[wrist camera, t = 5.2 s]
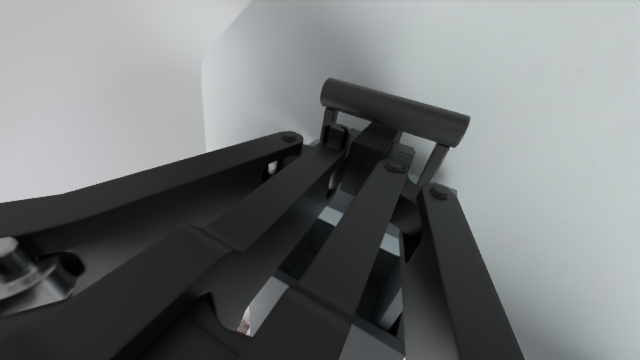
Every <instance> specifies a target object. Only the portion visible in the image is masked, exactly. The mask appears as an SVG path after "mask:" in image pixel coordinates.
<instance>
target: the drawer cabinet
mask: <svg viewBox="0 0 640 360" xmlns="http://www.w3.org/2000/svg"><path fill="white" fill-rule="evenodd" d="M298 282H299V280H297V279H295V278H293V277H292V276H290V275H288V274H287V273H285V272H283V271H281V270H280V269H277V270H276V271H275V272H274V274H273V275H272V276H271V277H270V279H269V280H268V281H267V283H266V284H265V285H264V286H263V288H262V289H261V290H260V291H259V293H258V294H257V295H256V297H255V298H254V299H253V300H252V302H251V303H250V304H249V314H250V336H251V337H253V336H254V334H255V333H256V331H257V330H258V329H259V327H260V326H261V324H262V323H263V321H264V320H265V318H266V317H267V316H268V314H269V313H270V311H271V310H272V308H273V307H274V306H275V304H276V303H277V301H278V300H279V298H280V297H281V296H282V294H283V293H284V292H285V290H286V289H287V288H288V287H289V286H290V285H296V284H297V283H298ZM404 358H405V338H404V321H403V311H402V312H401V313H400V315H399V316H398V317H397V319H396V320H395V322H394V323H393V324H392V326H391V327H390V329H389V330H388V331H387V332H386V331H384V330H382V329H380V328H379V327H377V326H375V325H374V324H372V323H370V322H368V321H367V320H365V319H363V318H362V317H360V316H358V315H357V314H354V317H353V322H352V325H351V328H350V331H349V334H348V336H347V339H346V342H345V344H344V347H343V350H342V352H341V355H340V358H339V360H403V359H404Z"/></svg>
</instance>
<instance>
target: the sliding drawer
mask: <svg viewBox="0 0 640 360" xmlns="http://www.w3.org/2000/svg"><path fill="white" fill-rule="evenodd" d="M320 101H321V105H322V106H324V107H327V108H325V113H324V119H323V124H322V130H321V136H320V140H319V139H316V140H315V141H313V142H312V143H310V144H309V146H315V145H316V144H318V143H319V142H320V141H321V138H322V132H323V126H324V124H327V123H335V124H336V119H337V114H338V111H340V112H343V113H346V114H349V115H352V116H355V117H359V118H362V119H365V120H368V121H371V122H374V123H377V124H380V125H384V126H387V127H390V128H393V129H396V130H399V131H402V132H406V133H409V134H412V135H415V136H418V137H421V138H424V139H428V140H431V141H434V142H437V143H436V145H435V147H434V149H433V151H432V153H431V155H430V157H429V159H428V161H427V163H426V165H425V167H424V169H423V171H422V173H421V176H420V177H419V176H416V175H414V174H411V173H408V177H409V178H410V180H411V181H413V182H414V183H415V184H417V185H418V186H420V187H422V185H424V184H425V183H435V182H433V179H434V177H435V175H436V173H437V171H438V169H439V168H440V166H441V164H442V162H443V160H444V158H445V156H446V154H447V152H448V151H449V147H453V148H455V147H456V146H457V145H458V144H459V143H460V141H461V140H462V138H463V136H464V134H465V132H466V130H467V128H468V125H469V122H470V116H468V115H464V114H460V113H457V112H453V111H449V110H446V109H442V108H439V107H435V106H431V105H428V104H424V103H420V102H417V101H413V100H410V99H406V98H402V97H399V96H395V95H391V94H388V93H384V92H380V91H377V90H373V89H370V88H366V87H362V86H359V85H355V84H351V83H348V82H344V81H341V80H337V79H333V78H328V79H327V80H326V81H325V83H324V85H323V88H322V91H321V96H320ZM273 171H274V169H273V170H271V171H270V172H273ZM435 184H438V183H435ZM439 185H441V184H439ZM340 186H341V183H340V184H339V186H338V188H337V192H336V195H335V196H334V197H333V199H332V200H331V201H330V203H329V204H328V205H327V206H326V208H325V209H324V210H323V211H322V213H321V214H320V215H319V217H318V218H317V219H316V220H315V222H314V223H313V224H312V225H311V227H310V228H309V229H308V230H307V232H306V233H305V234H304V236H303V237H302V238H301V239H300V241H299V242H298V243H297V244H296V246H295V247H294V248H293V250H292V251H291V252H290V253H289V255H288V256H287V257H286V258H285V260H284V261H283V262H282V264H281V265H280V266H279V267H278V269H280V270H281V271H283V272H285V273H287V274H288V275H290V276H292V277H293V278H295V279H297V280H300V279H301V278H302V276H303V275H304V273H305V272H306V270H307V269H308V267H309V266H310V264H311V263H312V261H313V260H314V258H315V257H316V255H317V254H318V252H319V251H320V249H321V248H322V246H323V245H324V243H325V242H326V240H327V239H328V237H329V236H330V234H331V233H332V231H333V229H334V228H335V226H336V225H337V223H338V222H339V220H340V219H341V217H342V216H343V214H344V213H345V211H346V210H347V208H348V207H349V205H350V204H351V202H352V201H353V199H354V198H355V196H352V195H350V194H348V193H345V192H343V191H341V190H340ZM443 186H444V185H443ZM445 187H446V186H445ZM447 188H448V189H449V190H451V191H452V192H453V193H454V194H455V195H456V197H457V190H454V189H452V188H449V187H447ZM399 231H400V230H399V229H398V228H397V227H395V226H394V225H393V224H391V223H390V222H389V225H388V227H387V230H386V232H385V235H384V238H383V240H382V243H381V246H380V248H379V251H378V253H377V256H376V259H375V261H374V264H373V267H372V269H371V272H370V274H369V277H368V280H367V282H366V285H365V288H364V290H363V293H362V295H361V298H360V301H359V303H358V306H357V309H356V311H355V314H357V315H358V316H360V317H362V318H363V319H365V320H367V321H368V322H370V323H372V324H374V325H375V326H377V327H379V328H380V329H382V330H384V331H386V332H387V331H388V330H389V329H390V327H391V326H392V324H393V323H394V322H395V320H396V319H397V317H398V316H399V315H400V313H401V312H402V311H403V304H402V287H401V270H400V253H399V236H398V235H399Z"/></svg>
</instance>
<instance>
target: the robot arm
mask: <svg viewBox="0 0 640 360" xmlns="http://www.w3.org/2000/svg"><path fill="white" fill-rule="evenodd" d="M402 133H403V132H402V131H399V130H396V129H393V128H390V127H387V126H384V125H380V124H377V123H374V122H372V123H371V124H370V125H369V126H368V127H366V128H365V129H364V130H363V131H359V130H356V129H353V128H352V129H349V128H348V127H346V126H343V125H340V124H335V123H327V124H324V126H323V132H322V138H321V141H320V142H319V143H318V144H316V145H315V146H309V145H304V144H303V137H302V136H301V135H300V134H297V133H296V132H292V131H284V132H279V133H275V134H272V135H268V136H264V137H261V138H257V139H254V140H250V141H247V142H243V143H240V144H236V145H233V146H229V147H226V148H222V149H219V150H215V151H212V152H208V153H205V154H201V155H198V156H195V157H191V158H187V159H184V160H180V161H177V162H173V163H170V164H166V165H163V166H159V167H156V168H152V169H149V170H145V171H141V172H138V173H135V174H131V175H127V176H124V177H121V178H117V179H113V180H110V181H106V182H103V183H99V184H96V185H92V186H89V187H85V188H82V189H79V190H75V191H71V192H68V193H64V194H59V195H53V196H46V197H39V198H32V199H25V200H18V201H11V202H5V203H0V360H339V358H340V355H341V352H342V350H343V347H344V344H345V342H346V339H347V336H348V334H349V331H350V328H351V325H352V322H353V317H354V314H355V311H356V309H357V306H358V303H359V301H360V298H361V295H362V293H363V290H364V288H365V285H366V282H367V280H368V277H369V274H370V272H371V269H372V267H373V264H374V261H375V259H376V256H377V253H378V251H379V248H380V246H381V243H382V240H383V238H384V235H385V232H386V230H387V227H388V225H389V222H390V223H391V224H393V225H394V226H395V227H397V228H398V229H399V230H400V231H399V235H398V236H399V253H400V270H401V287H402V304H403V321H404V338H405V356H406V360H525V359H524V357H523V354H522V352H521V350H520V347H519V345H518V342H517V340H516V338H515V335H514V333H513V330H512V328H511V326H510V323H509V321H508V318H507V316H506V314H505V311H504V309H503V306H502V304H501V302H500V299H499V297H498V294H497V292H496V290H495V287H494V285H493V282H492V280H491V278H490V275H489V273H488V270H487V268H486V266H485V263H484V261H483V258H482V256H481V254H480V251H479V249H478V246H477V244H476V242H475V239H474V237H473V234H472V232H471V230H470V227H469V225H468V222H467V220H466V218H465V215H464V213H463V210H462V208H461V206H460V203H459V201H458V199H457V197H456V195H455V194H454V193H453V192H452V191H451V190H449V189H448V188H447V187H445V186H443V185H439V184H435V183H425V184H424V185H422V187H420V186H418V185H417V184H415V183H414V182H413V181H411V180H410V178H409V177H408V170H409V168H410V165H411V162H412V160H413V157H414V155H415V151H414V149H413V148H412V147H409V146H406V145H403V144H400V143H399V141H400V138H401V135H402ZM273 162H274V171H273V172H269V171H268V165H269V164H270V163H273ZM340 183H341V186H340V190H341V191H343V192H345V193H348V194H350V195H352V196H355V198H354V199H353V201H352V202H351V204H350V205H349V207H348V208H347V210H346V211H345V213H344V214H343V216H342V217H341V219H340V220H339V222H338V223H337V225H336V226H335V228H334V229H333V231H332V233H331V234H330V236H329V237H328V239H327V240H326V242H325V243H324V245H323V246H322V248H321V249H320V251H319V252H318V254H317V255H316V257H315V258H314V260H313V261H312V263H311V264H310V266H309V267H308V269H307V270H306V272H305V273H304V275H303V276H302V278H301V279H300V280H299V282H298V283H297V284H296V285H290V286H289V287H288V288H287V289H286V290H285V292H284V293H283V294H282V296H281V297H280V298H279V300H278V301H277V303H276V304H275V306H274V307H273V308H272V310H271V311H270V313H269V314H268V316H267V317H266V318H265V320H264V321H263V323H262V324H261V326H260V327H259V329H258V330H257V331H256V333H255V334H254V336H253V337H251V336H248V335H245V334H242V333H239V332H236V330H237V328H238V326H239V324H240V322H241V320H242V317H243V315H244V312H245V311H246V309H247V307H248V306H249V304H250V303H251V302H252V300H253V299H254V298H255V297H256V295H257V294H258V293H259V291H260V290H261V289H262V288H263V286H264V285H265V284H266V283H267V281H268V280H269V279H270V277H271V276H272V275H273V274H274V272H275V271H276V270H277V269H278V267H279V266H280V265H281V264H282V262H283V261H284V260H285V258H286V257H287V256H288V255H289V253H290V252H291V251H292V250H293V248H294V247H295V246H296V244H297V243H298V242H299V241H300V239H301V238H302V237H303V236H304V234H305V233H306V232H307V230H308V229H309V228H310V227H311V225H312V224H313V223H314V222H315V220H316V219H317V218H318V217H319V215H320V214H321V213H322V211H323V210H324V209H325V208H326V206H327V205H328V204H329V203H330V201H331V200H332V199H333V197H334V196H335V195H336V192H337V188H338V186H339V184H340Z"/></svg>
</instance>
